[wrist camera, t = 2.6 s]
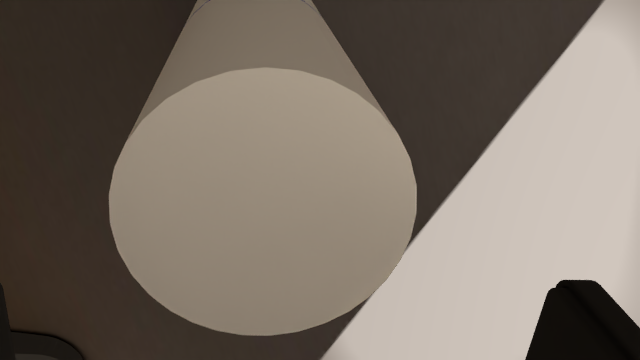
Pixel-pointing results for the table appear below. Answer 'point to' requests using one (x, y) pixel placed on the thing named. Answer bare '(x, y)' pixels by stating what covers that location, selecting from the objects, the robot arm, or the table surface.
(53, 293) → the table surface
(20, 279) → the table surface
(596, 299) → the robot arm
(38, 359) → the media streaming box
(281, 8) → the cylindrical container
